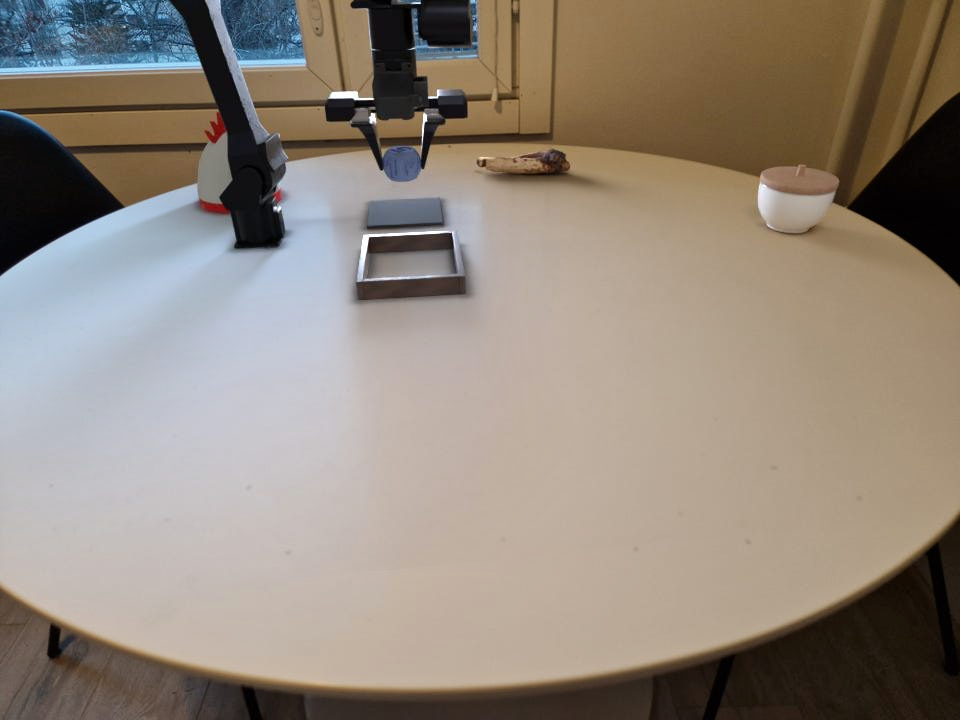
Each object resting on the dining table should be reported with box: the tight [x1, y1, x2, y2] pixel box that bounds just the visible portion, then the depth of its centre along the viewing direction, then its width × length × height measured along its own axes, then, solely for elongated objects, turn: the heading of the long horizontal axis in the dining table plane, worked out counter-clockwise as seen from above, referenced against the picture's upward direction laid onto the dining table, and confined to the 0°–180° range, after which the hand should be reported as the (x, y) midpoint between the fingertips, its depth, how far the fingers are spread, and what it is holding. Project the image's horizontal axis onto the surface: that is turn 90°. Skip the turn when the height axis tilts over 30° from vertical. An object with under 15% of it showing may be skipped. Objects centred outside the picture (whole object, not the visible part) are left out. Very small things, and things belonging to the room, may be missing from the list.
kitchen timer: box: [196, 111, 283, 214], centre depth 111 cm, size 14×14×15 cm
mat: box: [366, 197, 444, 229], centre depth 108 cm, size 12×12×1 cm
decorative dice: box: [382, 145, 422, 183], centre depth 91 cm, size 4×4×4 cm
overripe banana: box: [476, 148, 571, 175], centre depth 126 cm, size 9×5×18 cm
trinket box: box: [757, 163, 840, 234], centre depth 98 cm, size 11×11×9 cm
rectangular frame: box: [355, 230, 467, 301], centre depth 88 cm, size 14×16×2 cm
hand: (402, 169), depth 92 cm, fingers closed on decorative dice, 5 cm apart
